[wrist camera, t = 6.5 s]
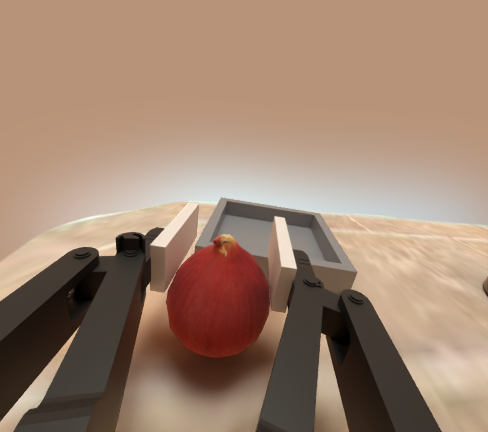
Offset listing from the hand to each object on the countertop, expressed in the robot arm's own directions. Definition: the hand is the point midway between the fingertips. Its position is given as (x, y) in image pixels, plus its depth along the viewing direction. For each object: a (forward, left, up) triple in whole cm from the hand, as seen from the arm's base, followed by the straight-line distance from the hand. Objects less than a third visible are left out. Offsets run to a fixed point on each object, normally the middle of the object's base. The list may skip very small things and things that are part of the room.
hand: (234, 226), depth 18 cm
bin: (-8, -5, -6) cm, 11 cm away
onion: (+3, +4, -6) cm, 8 cm away
